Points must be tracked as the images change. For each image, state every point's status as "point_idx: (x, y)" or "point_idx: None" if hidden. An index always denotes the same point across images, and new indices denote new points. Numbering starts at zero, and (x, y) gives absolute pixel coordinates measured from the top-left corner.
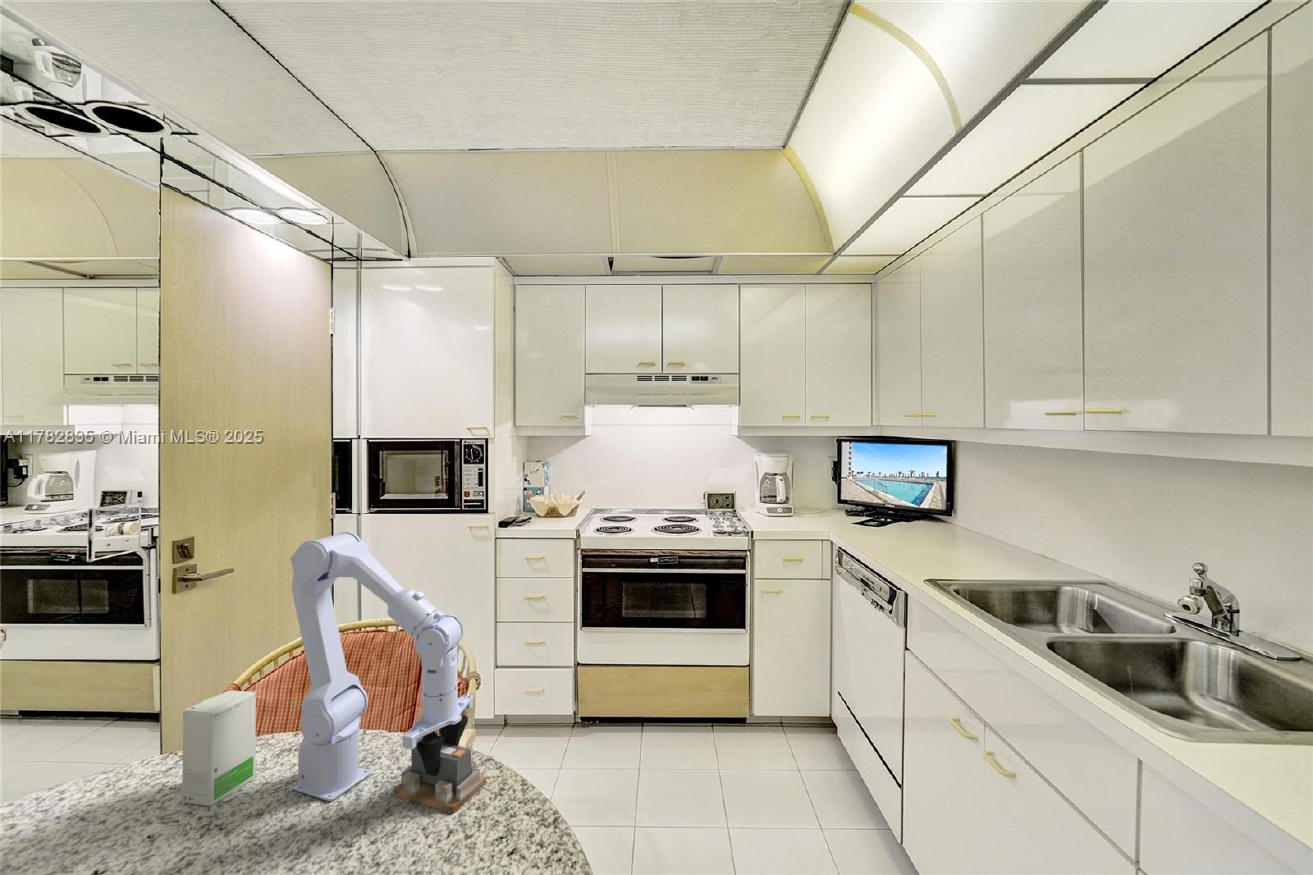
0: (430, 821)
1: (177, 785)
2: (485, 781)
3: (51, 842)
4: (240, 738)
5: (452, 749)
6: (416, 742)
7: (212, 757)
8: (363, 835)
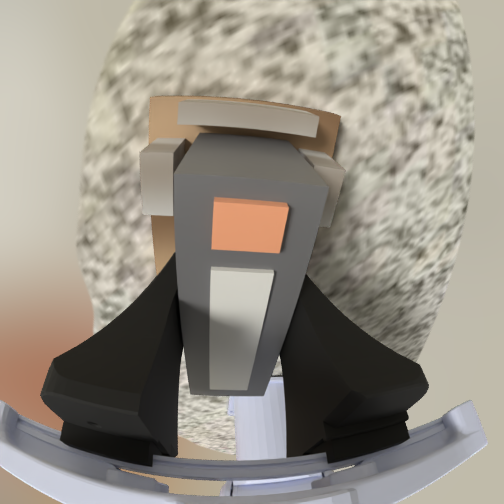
0: (369, 168)
1: None
2: (158, 96)
3: None
4: None
5: (224, 286)
6: (431, 425)
7: (331, 470)
8: (401, 282)
